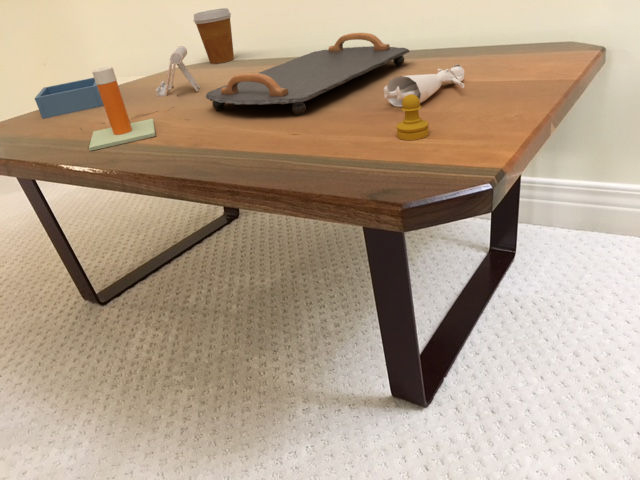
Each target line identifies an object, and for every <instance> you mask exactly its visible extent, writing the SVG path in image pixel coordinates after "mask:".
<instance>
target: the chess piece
mask: <svg viewBox="0 0 640 480" xmlns="http://www.w3.org/2000/svg"><path fill="white" fill-rule="evenodd" d="M420 109H422V106H421V104H420V100H419V98H418V97H417V96H416V95H413V94H409V95H407V96H405V97H404V99H403V101H402V106H401V109H400V110H401V111H403V112H404V118H403V119H402V121H401V122H399V123H397V124H396V126H395V128H396V136H397V138H398V139H399V140H402V141H414V140H415V141H416V140H420V139H424V138H426V137H428V136H429V135H430V127H429V121H428V120H425V119H422V117H420V113H419V110H420Z"/></svg>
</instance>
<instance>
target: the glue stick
mask: <svg viewBox="0 0 640 480" xmlns="http://www.w3.org/2000/svg"><path fill="white" fill-rule="evenodd" d="M91 74H92V76H93V78H94V79H95V82H96V84H97V87H98V90H99V93H100V96H101V99H102V102H103V105H104V106H103V107H104V110H105V113H106V116H107V119H108V122H109V125H110V128H112V131H113V134H114V135H121V134H126V133H128V132H130V131H132V127H131V124H130V123H131V121H130V118H129V115H128V112H127V108H126V106H125V101H124V100H123V95H122V93H121V89H120V87H119V84H118V81H117V80H118V79H117V77H116V73H115V70H114V67H113V66H103V67H99V68H96V69H93V70H91Z"/></svg>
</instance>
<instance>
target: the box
mask: <svg viewBox="0 0 640 480" xmlns="http://www.w3.org/2000/svg"><path fill="white" fill-rule="evenodd" d="M34 101H35V103H36V106H37V108H38V111H39V113H40V116H41V118H42V120H43V119H44V120H45V119H48V118H54V117H59V116H63V115H68V114H73V113H78V112H82V111H87V110H91V109H92V110H93V109H96V108H101V107H104V105H103V102H102V99H101V96H100V93H99V90H98V87H97V84H96V82H95V79H94V77H89V78H85V79H79V80H73V81H70V82H65V83H60V84H59V83H58V84H55V85H50V86H44V87H42V88H41V90H40V91H39V92H38V94H37V95H36V96H34Z"/></svg>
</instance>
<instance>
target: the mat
mask: <svg viewBox="0 0 640 480" xmlns="http://www.w3.org/2000/svg"><path fill="white" fill-rule="evenodd" d="M130 124H131V127H132V131H130V132H128V133H126V134H121V135H114V134H113V131H112V128H111V127H107V128H103V129H98V130H93V131H92V134H91V139H90V142H89V146H88V150H89V152H92V151H97V150H102V149H105V148H110V147H114V146H119V145H124V144H127V143H128V144H129V143H132V142H133V143H134V142H136V141H142V140H147V139H150V138H155V137H156V136H157V135H156V126H155V120H154V118H148V119H144V120H140V121H139V120H138V121H135V122H130Z"/></svg>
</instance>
